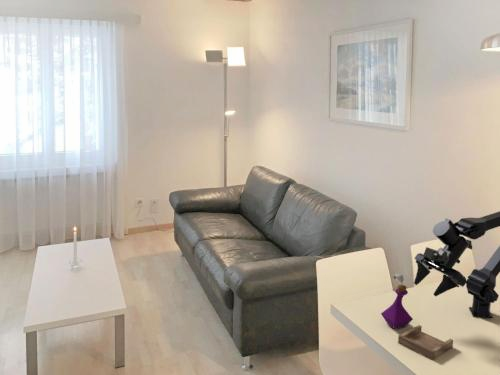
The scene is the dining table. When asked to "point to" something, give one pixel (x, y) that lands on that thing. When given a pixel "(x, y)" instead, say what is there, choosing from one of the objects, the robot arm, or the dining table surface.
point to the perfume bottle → (397, 308)
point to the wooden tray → (424, 343)
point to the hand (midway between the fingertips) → (424, 289)
